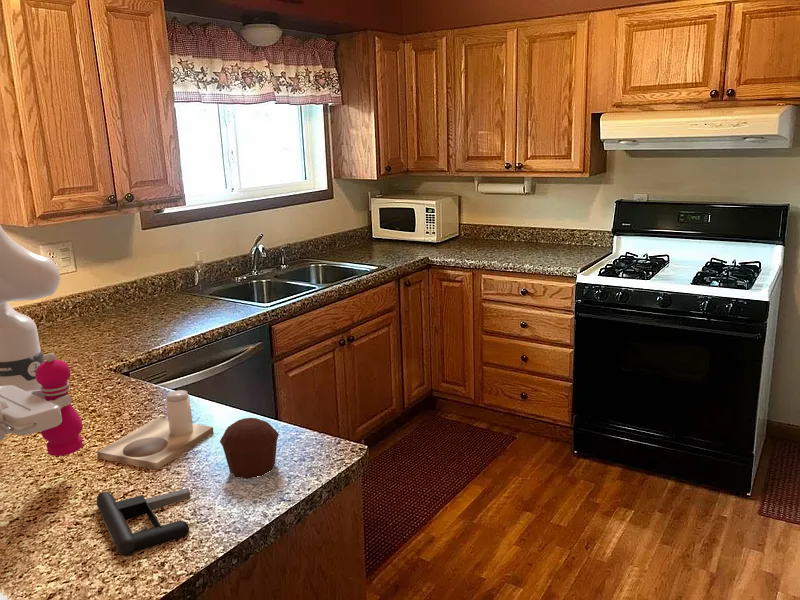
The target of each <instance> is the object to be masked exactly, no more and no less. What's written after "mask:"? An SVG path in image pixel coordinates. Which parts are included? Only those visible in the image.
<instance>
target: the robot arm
mask: <svg viewBox="0 0 800 600" xmlns="http://www.w3.org/2000/svg"><path fill="white" fill-rule="evenodd" d="M60 283H61V272H60V270H59V268H58V265H57V264H56V263H55V261H53V260H52V258H50V257H47V256H43V255H41V254H37V253H35V252H33V251H31V250H29V249H27V248H25V247H23V246H22V245H21V244H19V243H18V242H16V241H15V240H14V239H12V238H11V237H10V236H9V234H7V233H6V231H5V229H4V228H3V226H2V225H1V224H0V441H2V440H4V438H5V437H6V434H14V435H16V436H19V437H22V436H29V435H33V434H36V433H41V431H44V430H47V429H50V428H53V427H56V426H58V425H59V424H61V423H62V415H61V410H60V409H61V408H62V407H64V406H67V405H70V404H71V405H72V403H73V402H72V396H71V395H69V394H68V395H67V394H64V395H61V396H58V398H57V399H55V400H50V401H47V400H45V397H44V396H43V395H42V394H41V392H42V390H41V389H40V388H41V387H42V385H40V384H39V383H38V382H37V380H36V377H35V372H36V369H37V367H38V366H39V365H40V364H42V363H43V362H45V361H46V359H45V354H44V352H43V350H42V349H41V344H40V338H39V334H38V332H39V331H38V328H37V324H36V322H35V321H34V320H33V318H31V317H30V316H28V315H26V314H23V313H20V312H19V311H16V309H14V308H13V307H12V306H11V304H10V303H9V302H19V301H20V302H21V301H34V300H39V299H43V298H47V297H49V296H52V295H53V294H54V295H55V293H56V291H57V290H58V288H59V286H60Z"/></svg>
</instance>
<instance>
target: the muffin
mask: <svg viewBox="0 0 800 600" xmlns="http://www.w3.org/2000/svg"><path fill="white" fill-rule="evenodd" d="M279 436H280V435H279V432H278V431H277V430H276V429H275V428H274V427H273V426H272V425H271V424H270V423H269V422H268V421H265V420H263V419H260V418H257V417H244V418H240V419H238V420H236V421H234V422H233V423H231V424H230V425H229V426H227V428H226V429H225V431H224V433H223V435H222V436H221V438H220V440H219V443H220V444H221V446H222V449H223V452H224V456H225V459H226V463H227V467H228V470H229V472H230V473H231V474H232V473H233V474H232V475H233V477H234V478H238V477H243V478H242V479H244V478H246V479H245V480H249V479H248V478H250V479H253V478H252V477H256V478H258V477H257V476H262V475H264V474H265V473H267V472H269V471H271V470H272V469H274V467H275V465H276V460H277V459H276V458H277V456H276V455H277V444H278V443H277V442H278V438H279ZM274 464H275V465H274ZM273 466H274V467H273ZM272 471H273V470H272ZM272 471H271V472H272ZM269 473H270V472H269ZM267 474H268V473H267ZM265 475H266V474H265ZM265 475H264V476H265ZM262 477H263V476H262Z"/></svg>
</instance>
